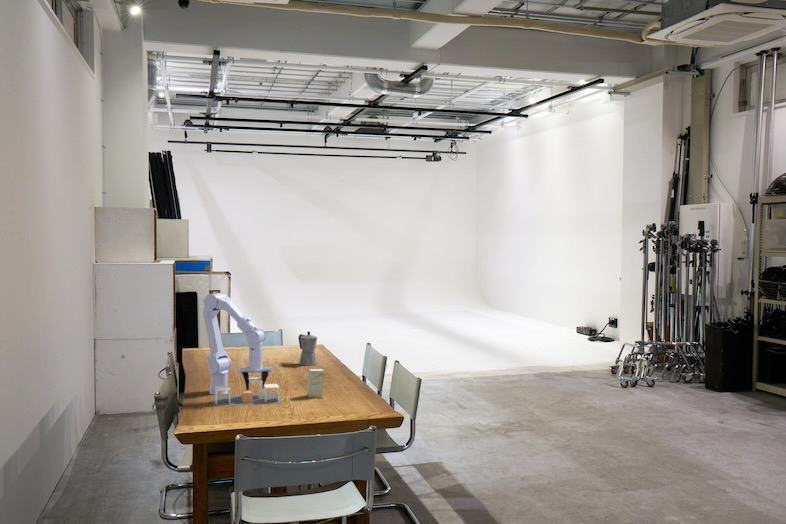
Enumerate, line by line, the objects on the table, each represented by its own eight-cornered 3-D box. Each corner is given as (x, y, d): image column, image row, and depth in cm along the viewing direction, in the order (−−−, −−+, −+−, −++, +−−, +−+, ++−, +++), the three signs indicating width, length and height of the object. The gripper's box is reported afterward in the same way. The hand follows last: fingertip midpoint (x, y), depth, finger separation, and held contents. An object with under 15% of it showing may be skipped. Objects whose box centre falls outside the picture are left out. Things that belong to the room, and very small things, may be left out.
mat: (210, 397, 283) (210, 396, 283) (276, 394, 292) (276, 393, 292) (213, 408, 267) (213, 406, 267) (282, 404, 276) (282, 403, 276)
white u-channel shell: (247, 392, 287) (247, 377, 287) (260, 391, 289) (260, 377, 288) (248, 395, 281) (249, 381, 281) (262, 394, 283) (262, 380, 283)
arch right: (263, 398, 282) (263, 384, 282) (276, 398, 284) (276, 383, 284) (265, 402, 277) (265, 387, 276) (278, 401, 279) (279, 387, 278)
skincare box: (309, 398, 288) (310, 371, 287) (307, 396, 292) (307, 369, 291) (323, 397, 290) (324, 370, 289) (320, 395, 294) (321, 368, 294)
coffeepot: (322, 365, 360) (323, 332, 359) (308, 367, 354) (309, 333, 353) (305, 360, 371) (306, 328, 370) (291, 362, 365) (292, 330, 364)
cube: (241, 400, 278) (241, 391, 278) (251, 399, 280) (251, 390, 280) (242, 402, 275) (243, 393, 274) (252, 402, 276) (252, 392, 276)
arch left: (214, 401, 276) (215, 386, 276) (228, 400, 278) (229, 385, 277) (216, 404, 270) (216, 389, 270) (230, 404, 272) (230, 389, 272)
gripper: (239, 360, 278) (238, 392, 279) (274, 359, 283) (273, 390, 284) (237, 357, 285) (236, 388, 285) (271, 356, 290) (270, 386, 290)
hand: (254, 389), depth 285 cm, fingers closed on white u-channel shell, 6 cm apart
